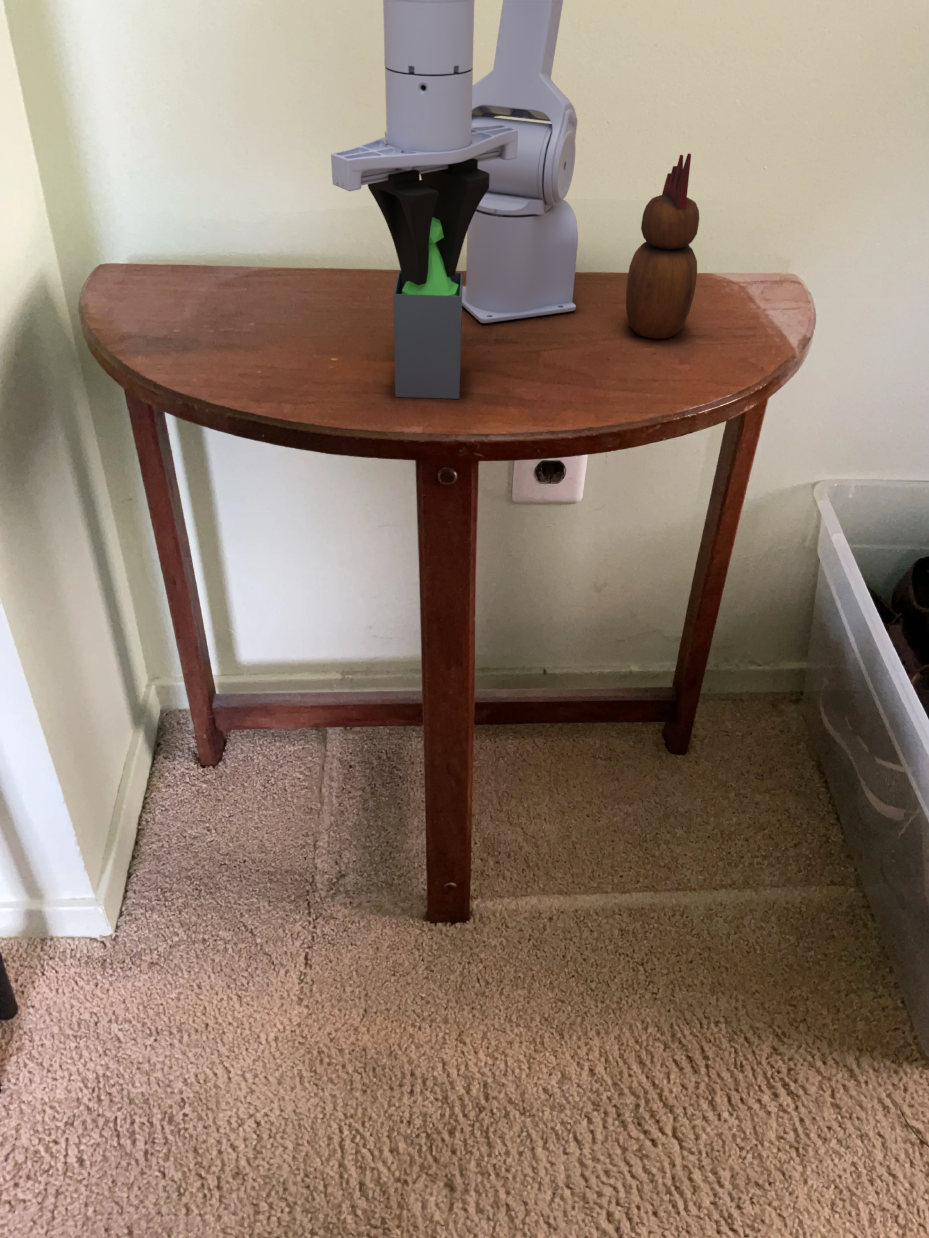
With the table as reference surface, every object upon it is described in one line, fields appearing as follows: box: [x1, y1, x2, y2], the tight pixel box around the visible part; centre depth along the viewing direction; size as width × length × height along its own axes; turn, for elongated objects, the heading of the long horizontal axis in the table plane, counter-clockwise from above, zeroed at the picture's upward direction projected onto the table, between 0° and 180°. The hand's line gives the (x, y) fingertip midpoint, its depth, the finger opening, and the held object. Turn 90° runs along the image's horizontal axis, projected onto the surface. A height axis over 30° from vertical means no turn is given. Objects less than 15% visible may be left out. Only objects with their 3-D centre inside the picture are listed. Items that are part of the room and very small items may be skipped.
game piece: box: [402, 217, 459, 296], centre depth 72 cm, size 4×4×6 cm
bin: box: [392, 270, 464, 400], centre depth 75 cm, size 5×5×8 cm
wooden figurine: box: [625, 153, 700, 340], centre depth 82 cm, size 7×6×15 cm
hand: (428, 276), depth 73 cm, fingers closed on game piece, 2 cm apart
